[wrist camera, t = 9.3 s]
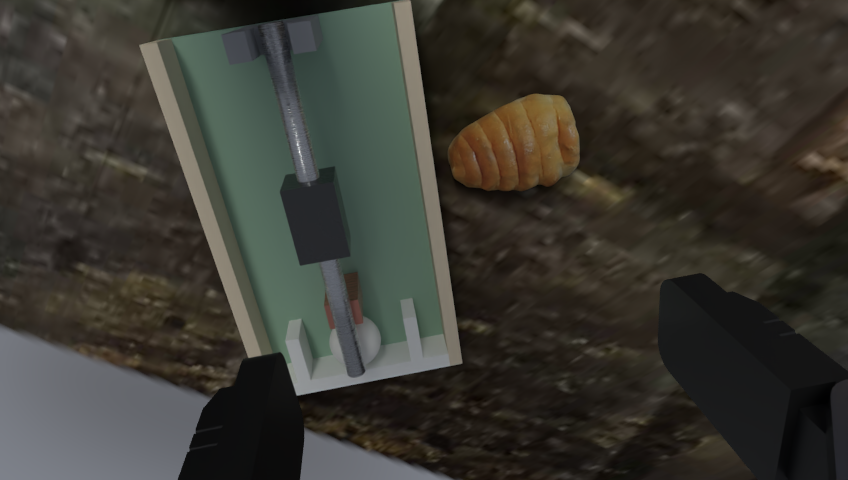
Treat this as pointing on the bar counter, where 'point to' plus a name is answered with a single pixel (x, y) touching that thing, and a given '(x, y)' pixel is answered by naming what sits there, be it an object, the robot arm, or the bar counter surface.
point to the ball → (367, 339)
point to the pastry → (517, 146)
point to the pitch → (333, 146)
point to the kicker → (315, 204)
